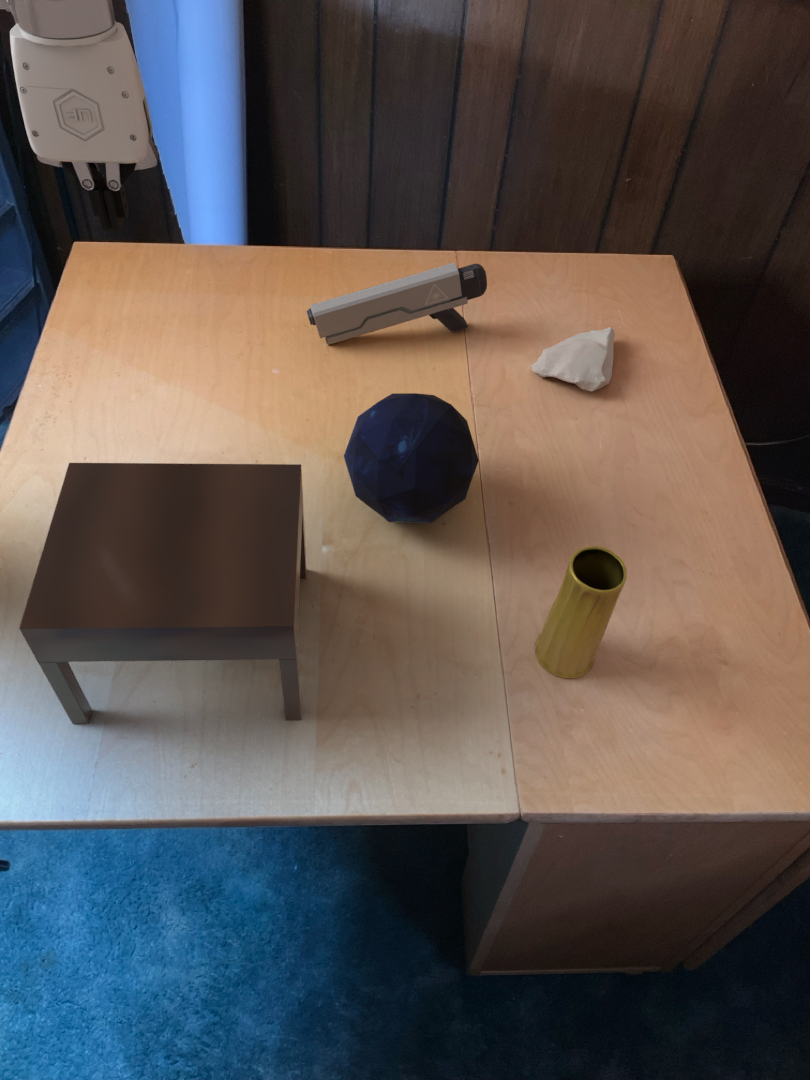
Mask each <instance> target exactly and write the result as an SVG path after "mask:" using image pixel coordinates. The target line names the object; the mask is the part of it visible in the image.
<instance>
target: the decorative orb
mask: <svg viewBox="0 0 810 1080" xmlns="http://www.w3.org/2000/svg"><path fill="white" fill-rule="evenodd" d="M343 458H344V463H345V465H346V468H347V472H348V475H349V479H350V482H351V485H352V489H353V491H354V492H353V493H354V496H355V498H357V499H359V500H360V501H361V502H362V503H363V504H365V505H366V506H367V507H369V508H370V509H372V510H373V511H374V512H375V513H376V514H378V515H379V516H381V517H382V518H383V519H385V520H386V521H387V522H388V523H413V524H415V523H416V524H432V523H434V522H435V521H437V520H438V519H439V518H441V517H442V516H443V515H445V514H447V513H448V512H449V511H451V510H453V509H454V508H455V507H456V506H458V505H459V504H462V502H464V501H465V500H466V498H467V496H468V493H469V490H470V487H471V484H472V481H473V478H474V475H475V473H476V470H477V467H478V464H479V462H480V460H479V456H478V453H477V449H476V447H475V442H474V439H473V436H472V432H471V429H470V426H469V423H468V420H467V418H465V417H464V416H463V415H462V414H461V413H460V412H459V411H458V410H457V409H456V408H455V407H454V405H452V403H449V402H448V401H446V400H444V399H442V398H440V397H438V396H436V395H435V394H426V393H418V392H417V393H416V392H414V393H413V392H411V393H409V392H406V393H399V392H398V393H395V392H394V393H391V394H389V395H387V396H386V397H384V398H382V399H381V400H378V401H377V402H376V403H374V404H373V405H372V406H370V407H369V408H368V409H366V410H365V411H363V412H362V413H361V414H359V415H358V416H357V418H356V421H355V423H354V427H353V428H352V431H351V434H350V437H349V440H348V443H347V446H346V449H345V451H344V454H343Z"/></svg>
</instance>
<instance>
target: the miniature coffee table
mask: <svg viewBox="0 0 810 1080" xmlns="http://www.w3.org/2000/svg"><path fill="white" fill-rule="evenodd" d="M302 475H303V473H302V464H300V463H299V464H297V463H296V464H295V463H294V464H293V463H291V464H289V463H285V464H284V463H279V464H278V463H168V462H167V463H166V462H165V463H161V462H160V463H157V462H156V463H155V462H153V463H152V462H68V466H67V468H66V472H65V475H64V478H63V483H62V486H61V489H60V492H59V494H58V495H59V496H58V498H57V502H56V505H55V509H54V511H53V515H52V518H51V521H50V525H49V529H48V531H47V535H46V537H45V542H44V545H43V548H42V552H41V555H40V558H39V561H38V566H37V568H36V572H35V574H34V578H33V580H32V581H33V582H32V585H31V588H30V590H29V591H30V592H29V594H28V599H27V601H26V605H25V608H24V611H23V615H22V618H21V620H20V621H21V622H20V624H19V629H18V630H19V631H20V633H21V635H22V637H23V638H24V641H25V642H26V644H27V645H28V647H29V649H30V651H31V652H32V655H33V657H34V658H35V659H36V662H37V663H38V665H39V667H40V669H41V670H42V672H43V674H44V676H45V677H46V680H47V681H48V683H49V685H50V686H51V688H52V690H53V692H54V693H55V695H56V697H57V699H58V700H59V703H60V704H61V706H62V708H63V710H64V712H65V713H66V715H67V717H68V719H69V720H70V722H71V724H72V725H88V724H90V720H91V717H92V716H91V715H92V710H93V709H92V707H91V705H90V703H89V701H88V699H87V697H86V695H85V692H84V690H83V689H82V687H81V684H80V683H79V681H78V679H77V677H76V675H75V672H74V671H73V668H72V667H71V665H70V663H81V662H83V663H85V662H92V663H93V662H95V663H96V662H170V661H171V662H172V661H174V662H175V661H182V662H183V661H247V660H248V661H251V660H252V661H254V660H255V661H259V660H261V661H262V660H265V661H266V660H267V661H268V660H278V666H279V674H280V675H279V676H280V684H281V692H282V702H283V710H284V711H283V712H284V718H285V721H301V720H302V715H303V701H302V689H301V675H300V665H299V662H300V661H299V651H298V635H299V634H298V631H299V612H300V611H299V609H300V608H299V607H300V587H301V584H300V583H301V582H300V581H301V580H307V576H308V575H307V574H308V573H307V571H308V568H307V567H308V565H307V547H306V531H305V528H306V527H305V511H304V493H303V476H302Z"/></svg>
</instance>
